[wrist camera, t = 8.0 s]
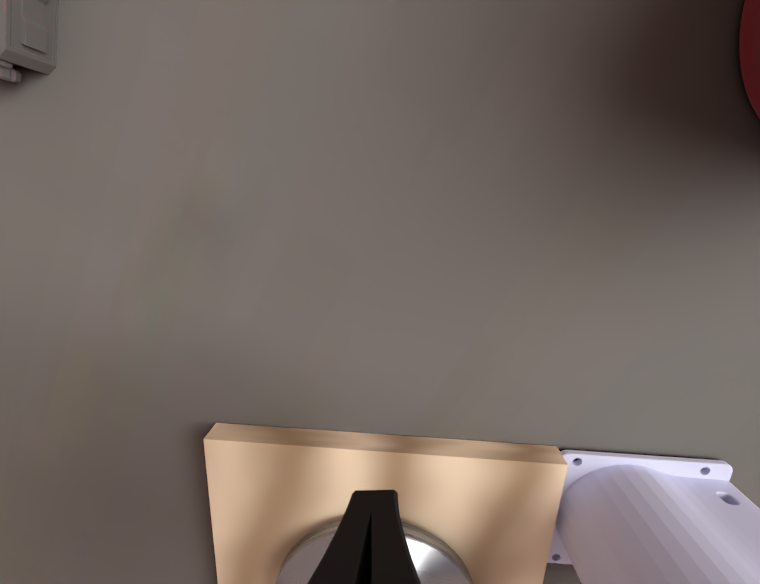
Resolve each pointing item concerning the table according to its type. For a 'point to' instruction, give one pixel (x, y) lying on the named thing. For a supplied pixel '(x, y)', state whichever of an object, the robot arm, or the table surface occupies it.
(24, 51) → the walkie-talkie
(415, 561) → the flange
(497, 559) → the base plate
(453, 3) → the table surface
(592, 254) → the table surface
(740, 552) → the robot arm
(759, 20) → the canister
